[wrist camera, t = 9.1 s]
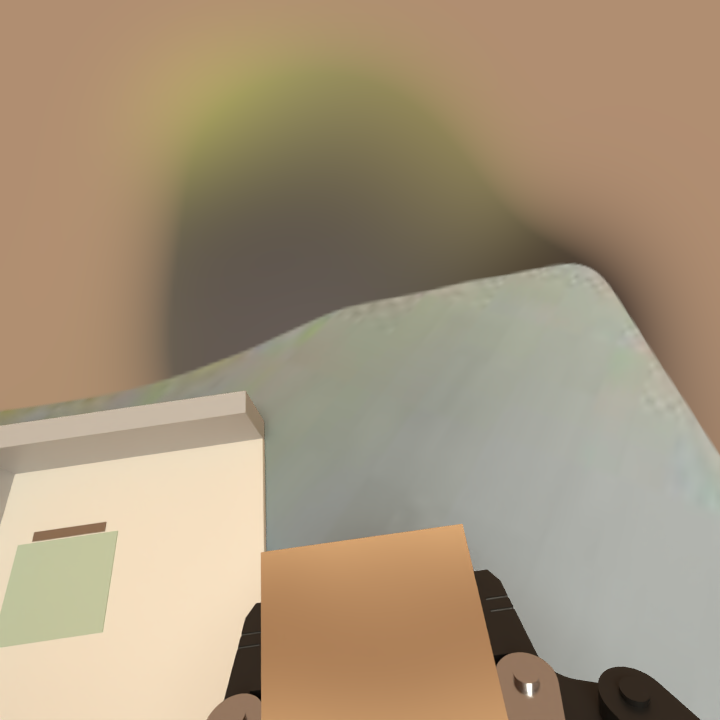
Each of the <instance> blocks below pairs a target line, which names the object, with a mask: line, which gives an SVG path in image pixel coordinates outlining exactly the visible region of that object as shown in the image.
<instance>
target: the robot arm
mask: <svg viewBox="0 0 720 720" xmlns="http://www.w3.org/2000/svg"><path fill="white" fill-rule="evenodd" d="M474 576H475V580H476V584H477V588H478V593H479V597H480V601H481V605H482V610H483V614H484V618H485V622H486V627H487V631H488V635H489V640H490V644H491V648H492V652H493V657H494V661H495V665H496V669H497V674H498V678H499V682H500V686H501V691H502V695H503V699H504V703H505V708H506V712H507V716H508V720H700V719H699V718H698V717H697V716H696V715H694V714H693V713H692V712H691V711H690V710H689V709H688V708H686V707H685V706H684V705H683V704H682V703H681V702H680V701H679V700H677V699H676V698H675V697H674V696H673V695H672V694H671V693H670V692H668V691H667V690H666V689H665V688H664V687H663V686H662V685H661V684H659V683H658V682H657V681H656V680H654V679H653V678H652V677H650V676H649V675H647V674H645V673H643V672H641V671H639V670H636V669H632V668H628V667H614V668H610V669H607V670H606V671H604V672H603V673H602V675H601V676H600V678H599V682H598V683H595V682H589V681H582V680H576V679H571V678H568V677H565V676H562V675H560V674H558V673H556V672H555V671H554V670H553V669H552V667H551V666H550V665H549V664H548V663H546V662H545V661H544V660H543V659H541V658H539V657H538V655H537V653H536V651H535V649H534V647H533V645H532V643H531V641H530V639H529V637H528V635H527V633H526V631H525V629H524V627H523V625H522V623H521V621H520V619H519V617H518V615H517V613H516V611H515V609H513V605H512V603H511V601H510V599H509V598H508V596H507V593H506V591H505V589H504V587H503V585H502V583H501V581H500V580H499V579H498V578H496V577H495V576H494V575H493V574H492V573H491V572H489V571H488V570H481V571H474ZM207 720H261V603H256V604H255V605H254V607H253V608H252V609H251V611H250V612H249V614H248V615H247V616H246V618H245V621H244V625H243V629H242V633H241V637H240V640H239V644H238V650H237V652H236V656H235V659H234V663H233V667H232V671H231V675H230V678H229V682H228V686H227V690H226V694H225V697H224V701H222V702H221V703H220V704H219V705H217V706H216V707H215V709H214V710H213V711H212V712H211V713H210V715H209V716H208V718H207Z"/></svg>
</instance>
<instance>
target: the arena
mask: <svg viewBox="0 0 720 720" xmlns="http://www.w3.org/2000/svg"><path fill="white" fill-rule="evenodd" d="M261 552H266V505H265V437H264V420H263V419H262V417H261V415H260V414H259V412H258V410H257V409H256V407H255V405H254V404H253V402H252V400H251V399H250V397H249V395H248V394H247V392H246V391H241V392H234V393H227V394H220V395H213V396H206V397H199V398H192V399H185V400H178V401H171V402H164V403H157V404H150V405H143V406H136V407H129V408H122V409H115V410H108V411H101V412H94V413H87V414H80V415H73V416H66V417H59V418H52V419H45V420H38V421H31V422H24V423H17V424H10V425H3V426H0V720H207V718H208V716H209V715H210V713H211V712H212V711H213V710H214V709H215V707H216V706H217V705H219V704H220V703H221V702H222V701H224V697H225V694H226V690H227V686H228V682H229V678H230V675H231V671H232V667H233V663H234V659H235V656H236V652H237V650H238V644H239V640H240V637H241V633H242V629H243V625H244V621H245V618H246V616H247V615H248V614H249V612H250V611H251V609H252V608H253V607H254V605H255V604H256V603H261Z"/></svg>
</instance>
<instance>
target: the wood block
mask: <svg viewBox="0 0 720 720" xmlns="http://www.w3.org/2000/svg"><path fill="white" fill-rule="evenodd" d="M261 720H508V716H507V712H506V708H505V703H504V699H503V695H502V691H501V686H500V682H499V678H498V674H497V669H496V665H495V661H494V657H493V652H492V648H491V644H490V640H489V635H488V631H487V627H486V622H485V618H484V614H483V610H482V605H481V601H480V597H479V593H478V588H477V584H476V580H475V576H474V571H473V567H472V563H471V559H470V554H469V550H468V546H467V542H466V537H465V533H464V529H463V524H459V525H452V526H444V527H437V528H430V529H423V530H416V531H409V532H402V533H395V534H388V535H381V536H374V537H366V538H359V539H352V540H345V541H338V542H331V543H324V544H317V545H310V546H303V547H295V548H288V549H281V550H274V551H267V552H261Z"/></svg>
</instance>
